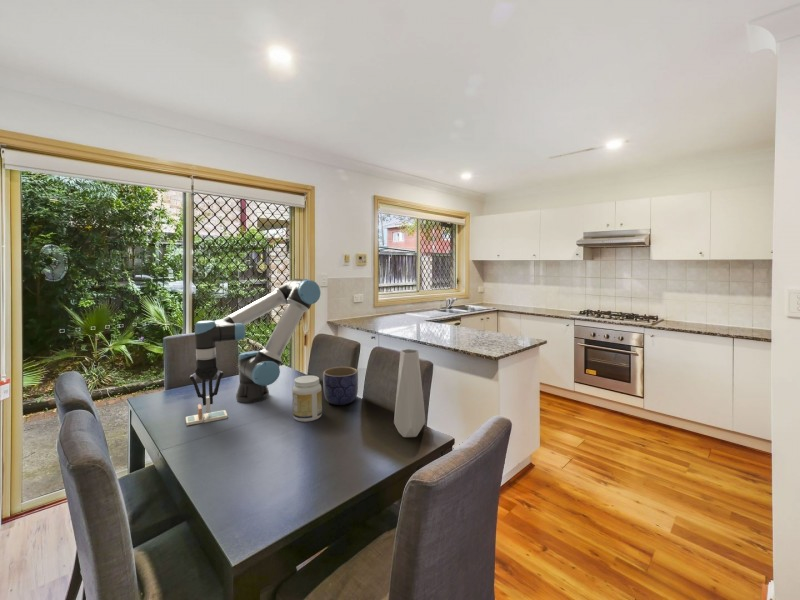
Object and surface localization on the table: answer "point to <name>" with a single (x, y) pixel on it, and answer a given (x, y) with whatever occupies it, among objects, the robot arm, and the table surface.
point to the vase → (409, 395)
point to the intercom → (195, 417)
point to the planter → (340, 385)
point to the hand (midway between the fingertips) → (208, 411)
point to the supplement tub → (307, 398)
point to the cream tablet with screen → (214, 416)
